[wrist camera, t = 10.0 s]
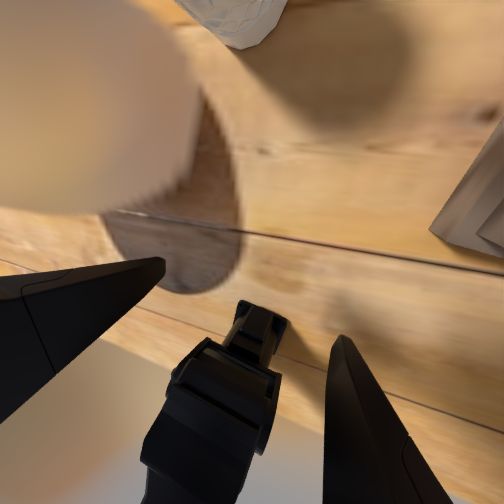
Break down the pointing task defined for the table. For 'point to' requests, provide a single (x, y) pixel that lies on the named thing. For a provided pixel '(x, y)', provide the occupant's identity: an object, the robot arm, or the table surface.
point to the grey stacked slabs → (478, 203)
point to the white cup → (236, 19)
